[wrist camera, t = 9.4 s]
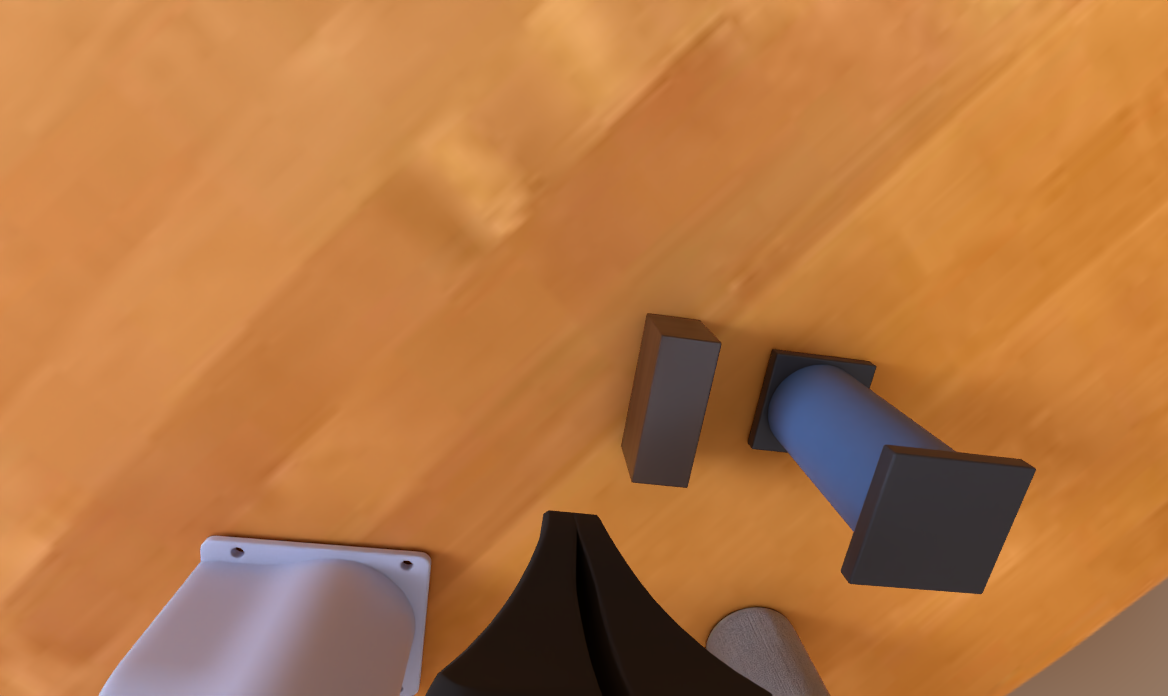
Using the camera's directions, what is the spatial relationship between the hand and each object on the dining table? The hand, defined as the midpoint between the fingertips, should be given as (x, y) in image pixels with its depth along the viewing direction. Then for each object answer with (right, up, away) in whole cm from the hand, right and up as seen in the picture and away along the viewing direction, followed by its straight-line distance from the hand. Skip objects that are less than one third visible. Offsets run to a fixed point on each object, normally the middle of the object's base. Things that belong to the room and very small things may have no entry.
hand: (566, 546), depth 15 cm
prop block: (+4, +3, +10) cm, 11 cm away
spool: (+10, +1, +7) cm, 12 cm away
